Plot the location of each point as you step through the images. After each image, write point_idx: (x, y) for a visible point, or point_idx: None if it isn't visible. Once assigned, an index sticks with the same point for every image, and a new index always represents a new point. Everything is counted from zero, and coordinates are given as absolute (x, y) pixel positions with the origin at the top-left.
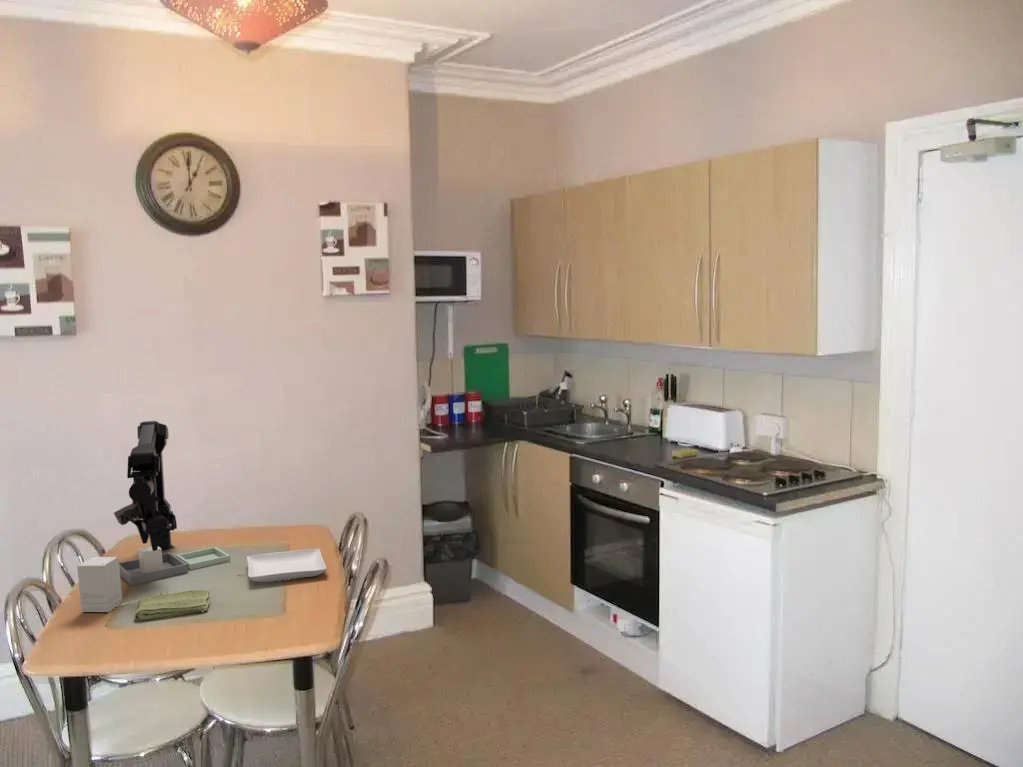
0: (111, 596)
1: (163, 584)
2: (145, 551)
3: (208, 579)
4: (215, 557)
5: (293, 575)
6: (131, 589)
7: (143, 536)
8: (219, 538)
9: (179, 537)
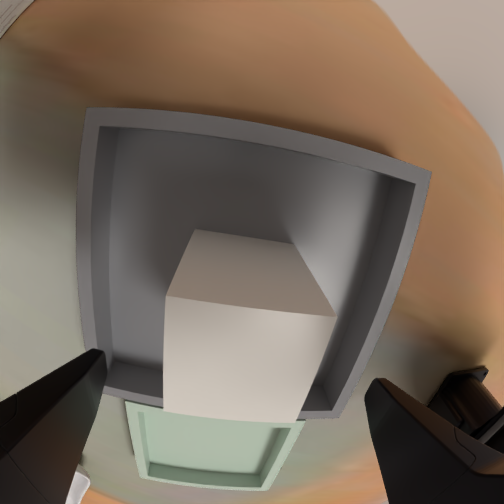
0: None
1: (48, 241)
2: (176, 317)
3: (23, 360)
4: (209, 465)
5: None
6: (85, 105)
7: (397, 425)
8: (369, 485)
9: None
